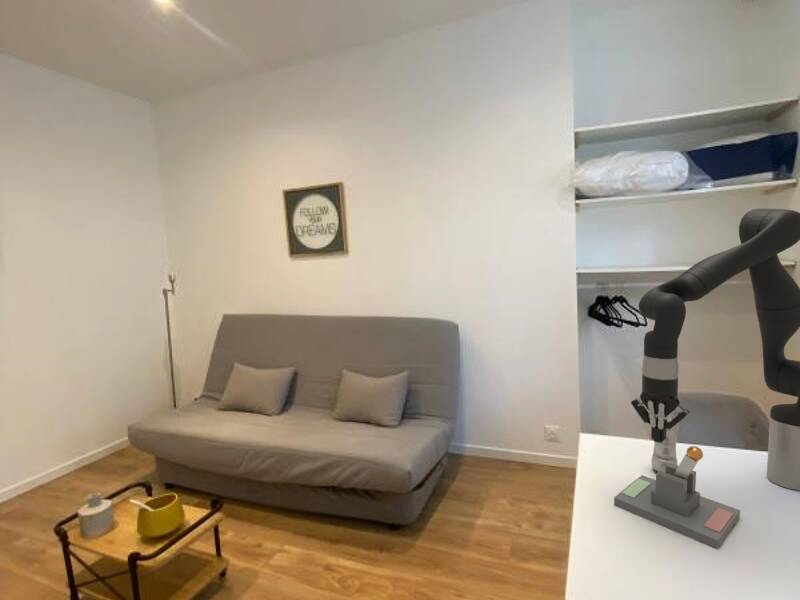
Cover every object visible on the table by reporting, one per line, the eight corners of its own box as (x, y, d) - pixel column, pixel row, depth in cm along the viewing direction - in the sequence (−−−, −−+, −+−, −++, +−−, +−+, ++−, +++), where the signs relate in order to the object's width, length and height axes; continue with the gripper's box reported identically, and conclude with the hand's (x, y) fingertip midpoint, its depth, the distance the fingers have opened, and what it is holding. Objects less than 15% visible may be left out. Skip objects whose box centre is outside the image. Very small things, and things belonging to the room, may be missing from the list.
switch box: (641, 481, 120) (642, 447, 119) (739, 518, 103) (741, 478, 102) (614, 504, 110) (614, 467, 109) (717, 549, 93) (719, 505, 92)
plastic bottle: (669, 466, 128) (672, 400, 126) (682, 478, 121) (684, 409, 119) (646, 465, 129) (648, 400, 126) (658, 477, 122) (660, 409, 120)
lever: (669, 480, 108) (693, 441, 103) (682, 490, 106) (707, 450, 101) (664, 485, 106) (688, 445, 101) (677, 495, 104) (702, 454, 99)
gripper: (696, 375, 103) (694, 445, 105) (638, 365, 113) (637, 428, 116) (684, 383, 98) (682, 455, 101) (624, 371, 109) (624, 437, 111)
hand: (658, 441), depth 108 cm, fingers closed
